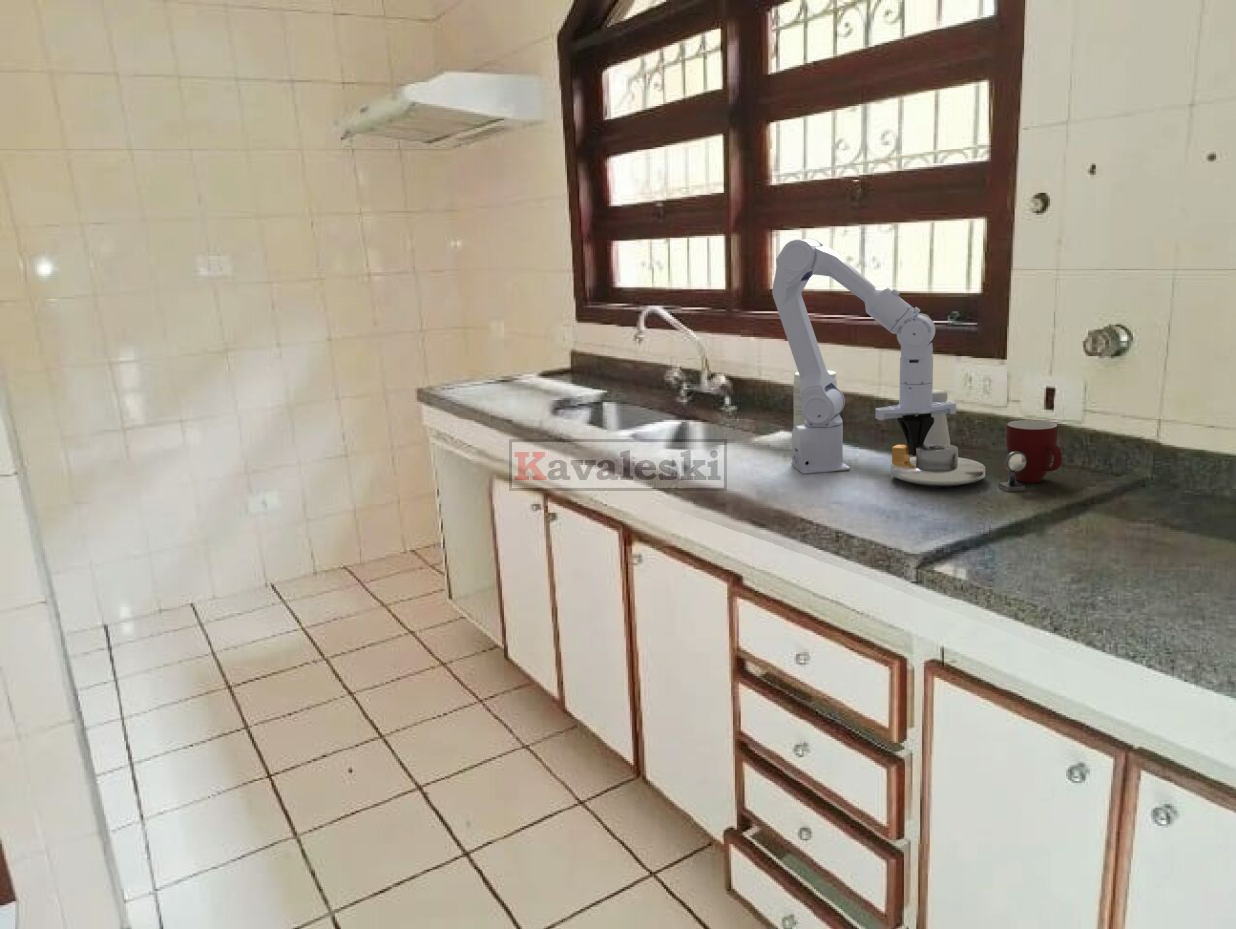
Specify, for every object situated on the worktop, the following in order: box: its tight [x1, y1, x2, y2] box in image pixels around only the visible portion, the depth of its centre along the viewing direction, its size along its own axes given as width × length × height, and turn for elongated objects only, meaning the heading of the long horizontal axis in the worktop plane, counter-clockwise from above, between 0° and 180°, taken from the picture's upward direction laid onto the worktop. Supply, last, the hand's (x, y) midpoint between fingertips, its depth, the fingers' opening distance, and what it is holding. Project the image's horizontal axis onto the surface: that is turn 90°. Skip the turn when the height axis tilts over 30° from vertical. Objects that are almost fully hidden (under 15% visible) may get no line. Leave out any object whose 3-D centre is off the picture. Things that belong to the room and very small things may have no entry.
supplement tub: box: [793, 369, 838, 428], centre depth 190 cm, size 10×10×15 cm
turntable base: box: [912, 483, 964, 489], centre depth 152 cm, size 10×10×1 cm
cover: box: [915, 444, 959, 472], centre depth 151 cm, size 7×7×4 cm
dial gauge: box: [998, 451, 1027, 493], centre depth 143 cm, size 4×3×7 cm
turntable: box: [890, 444, 986, 485], centre depth 151 cm, size 16×16×4 cm
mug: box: [1005, 419, 1063, 484], centre depth 146 cm, size 11×8×10 cm
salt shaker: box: [924, 388, 951, 445], centre depth 168 cm, size 6×6×13 cm
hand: (914, 454), depth 156 cm, fingers closed
